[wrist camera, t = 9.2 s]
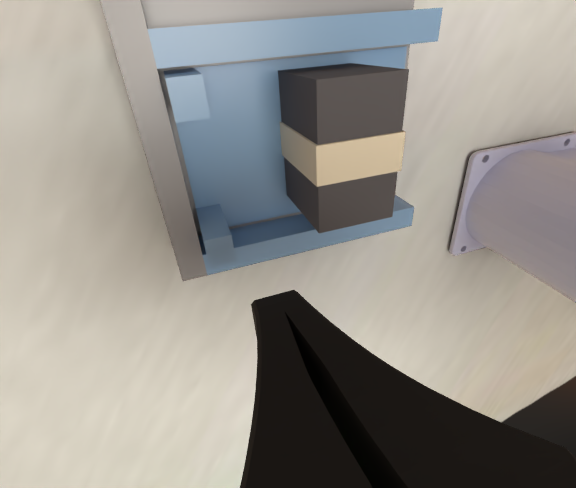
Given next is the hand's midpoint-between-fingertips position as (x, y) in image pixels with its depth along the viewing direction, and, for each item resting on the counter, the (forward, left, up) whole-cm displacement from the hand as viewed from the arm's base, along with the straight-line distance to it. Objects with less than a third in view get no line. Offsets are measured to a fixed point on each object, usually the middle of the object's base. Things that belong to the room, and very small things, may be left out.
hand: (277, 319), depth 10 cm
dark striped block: (-5, -3, -9) cm, 11 cm away
